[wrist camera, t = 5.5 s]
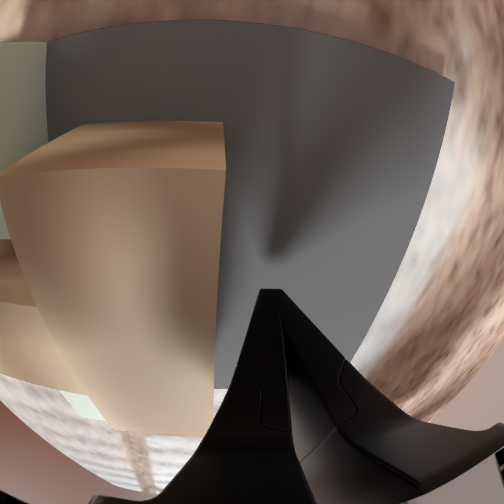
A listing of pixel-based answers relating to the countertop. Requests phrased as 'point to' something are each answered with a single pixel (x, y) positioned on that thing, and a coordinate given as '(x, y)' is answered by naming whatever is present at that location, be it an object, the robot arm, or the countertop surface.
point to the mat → (277, 154)
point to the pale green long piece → (27, 134)
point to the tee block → (117, 270)
